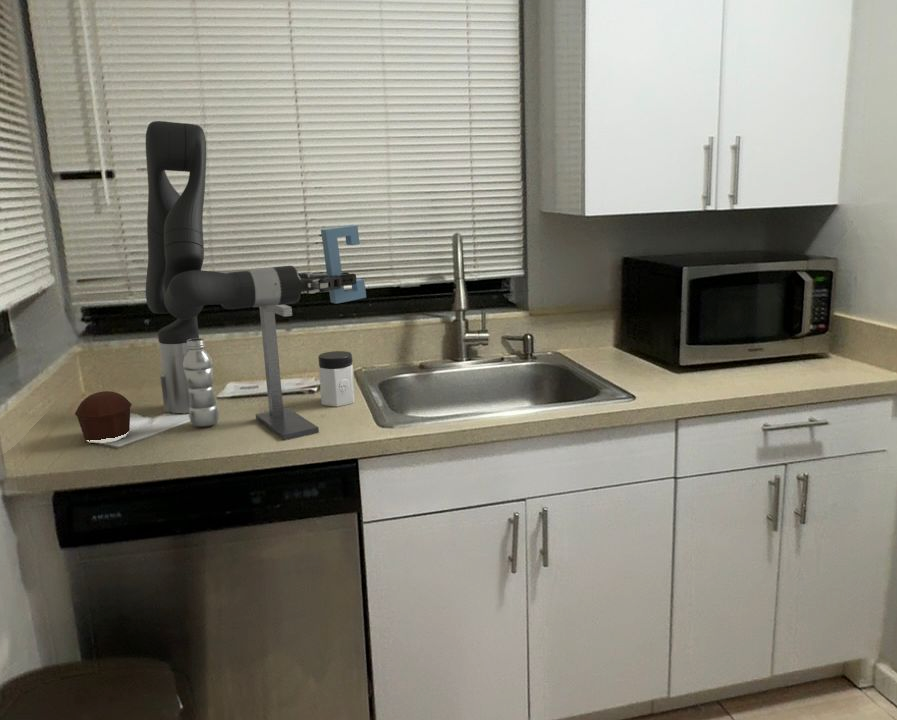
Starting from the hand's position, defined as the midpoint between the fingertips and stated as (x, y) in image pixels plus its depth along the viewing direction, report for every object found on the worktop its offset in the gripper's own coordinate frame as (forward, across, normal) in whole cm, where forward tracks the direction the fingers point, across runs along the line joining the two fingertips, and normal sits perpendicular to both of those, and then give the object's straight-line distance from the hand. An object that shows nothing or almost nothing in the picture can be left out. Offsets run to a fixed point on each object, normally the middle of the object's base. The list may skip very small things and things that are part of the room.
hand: (351, 278), depth 157 cm
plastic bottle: (-27, +26, +34) cm, 50 cm away
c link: (-1, 0, +4) cm, 5 cm away
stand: (-12, +14, +34) cm, 38 cm away
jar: (+5, +24, +34) cm, 42 cm away
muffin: (-46, +32, +34) cm, 66 cm away
